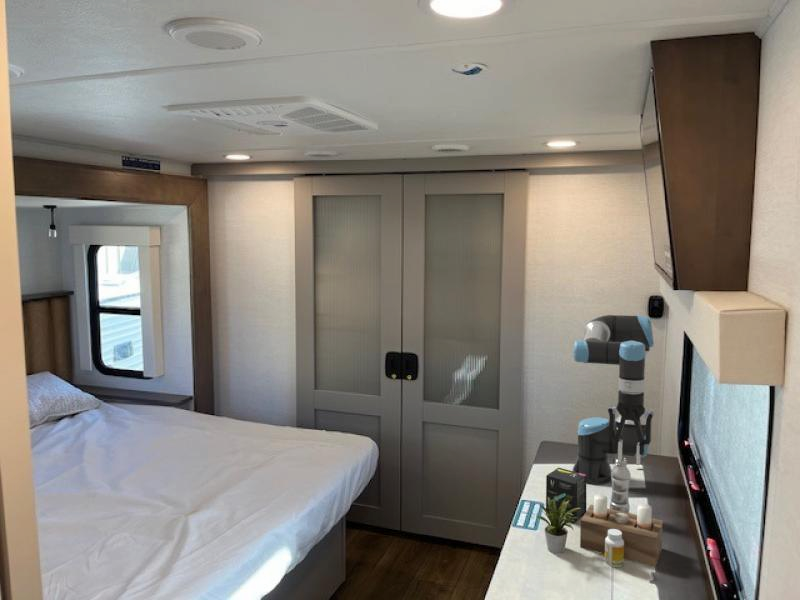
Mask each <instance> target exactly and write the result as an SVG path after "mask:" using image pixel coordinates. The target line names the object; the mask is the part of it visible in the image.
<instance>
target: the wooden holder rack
mask: <svg viewBox="0 0 800 600" xmlns="http://www.w3.org/2000/svg"><path fill="white" fill-rule="evenodd" d="M593 510H594V504H590V505H589V507H588V508H587V509H586V513H585V514H584V516H583V517H582V518H581V519H580V530H579V531H580V532H579V533H580V535H579V536H580V537H579V538H580V539H579V548H581V549H585V550H588V551H593V552H597V553H600V554H604V555H605V538H606V537H607V536H608V530H609V529H617V530H620V531H621V532H622V539H623V540H624V560H627V561H631V562H635V563H638V564H642V565H647V566H650V567H653V568H656V567H657V564H658V561H659V558H660V555H661V552H662V549H663V533H664V532H663V528H664V526H663V525H664V520H661V519H656V518H652V517H651V531H648V530H644V529H639V528H637V514H635V513H634V514H633V513H631V512H629V513H626V512H621V511H617V510H612V509H610V508H608V507H607V521H605V520H601V519H596V518H593V517H594V515H593Z"/></svg>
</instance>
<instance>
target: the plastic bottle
mask: <svg viewBox="0 0 800 600" xmlns="http://www.w3.org/2000/svg"><path fill="white" fill-rule="evenodd" d="M627 460H628V459H627V458H625V457H622V460H621V462H618V456H617V457H615V460H614V461H615V462H614V463H615V465H614V467H613V468H611V470H612V471H611V479H612V481H611V491H612V492H611V498H610V502H609V509H612V510H617V511H621V512H626V513H630V508H631V507H630V502H629V487H630V481H631V475H632V474H631V472H630V470H629V468H628V467H627V466H628V463H627Z"/></svg>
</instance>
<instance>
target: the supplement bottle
mask: <svg viewBox="0 0 800 600" xmlns="http://www.w3.org/2000/svg"><path fill="white" fill-rule="evenodd" d="M624 561H625V559H624V540H623V539H622V532H621V531H620V530H617V529H609V530H608V536H607V537H606V538H605V554H604V562H605V564H606V565H607V566H609V567H613V568H619V567H622V566H623V565H624Z"/></svg>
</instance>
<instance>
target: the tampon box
mask: <svg viewBox="0 0 800 600" xmlns="http://www.w3.org/2000/svg"><path fill="white" fill-rule="evenodd" d="M586 476H587V475H584V474H581V473H577V472H573V470H569V469H566V468H562V467H557V468H556V469H554V470H552V471H551V472H549V473H548V474H547V475H545V481H546V482H545V508H546V510H547V511H548V513H549V508H548V507H549V505H548V497H549V498H550V500H551V502H552V503H553V498H554V500H555V504H556V507H557V512H558V510H559V508H560V506H561V505H562V503H563V501H564V499H565V502H566V501H568V500H569V502H568V504H567V508H566V509H565V511H564V512H567V511H570V510H572V509H575V508H580V509H576V510H574V511H575V512H572V513H571V514H573V515H571V514H569V515H568V516H571V517H572V518H573V517H578V518H574V519H573V520H575V521H573V522H570V524H574V525H575V523H578V521H579V520H581V519H582V517H583V516H584V514H585V513H586V511H587V483H586ZM553 507H554V503H553ZM545 514H546V513H545ZM549 514H550V513H549ZM546 515H547V514H546ZM546 515H545V516H546ZM564 515H565V514H564ZM564 515H563V516H564ZM563 516H562V517H563ZM562 517H561V518H562ZM566 519H567V520H568V519H570V518H566ZM566 519H565V520H564V522H565V521H566Z"/></svg>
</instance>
